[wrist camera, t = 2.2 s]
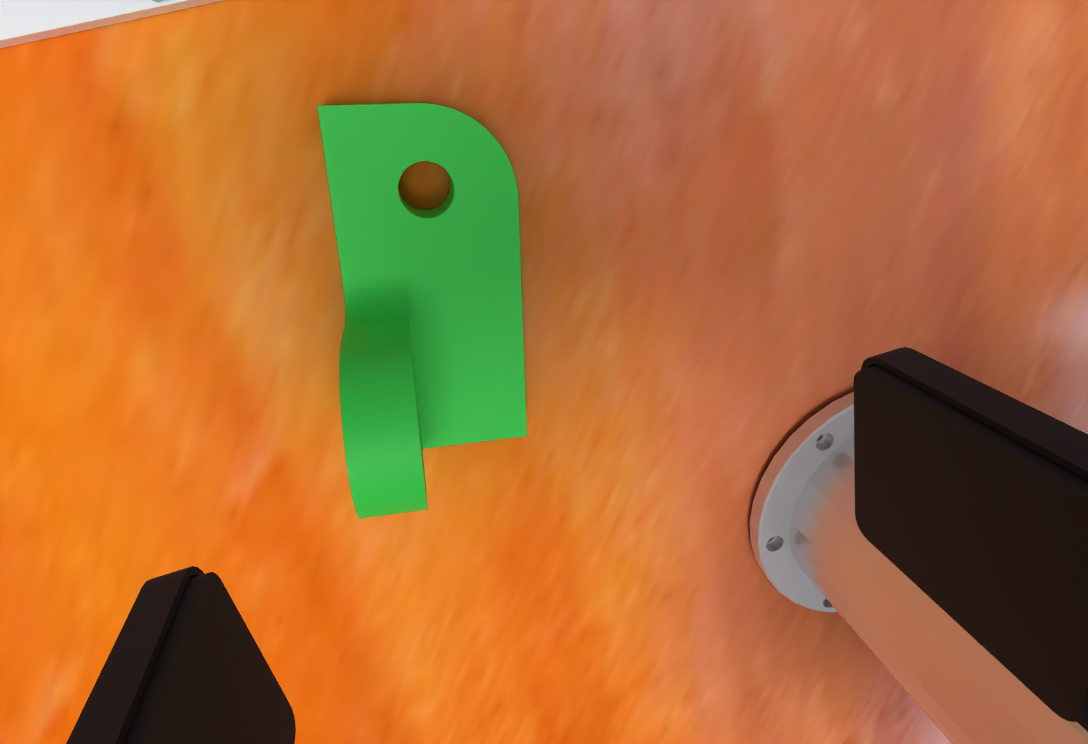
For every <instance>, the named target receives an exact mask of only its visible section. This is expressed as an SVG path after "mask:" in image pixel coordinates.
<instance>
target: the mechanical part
mask: <svg viewBox="0 0 1088 744" xmlns="http://www.w3.org/2000/svg"><path fill="white" fill-rule="evenodd" d="M317 107H318V114H319V120H320V127H321V134H322V141H323V148H324V155H325V162H326V169H327V176H328V183H329V190H330V197H331V204H332V211H333V218H334V225H335V232H336V239H337V246H338V253H339V260H340V267H341V273H342V280H343V288H344V298H345V315H346V319H345V327H344V332H343V337H342V343H341V348H340V363H339V378H340V402H341V416H342V428H343V438H344V447H345V455H346V463H347V470H348V477H349V482H350V488H351V493H352V498H353V502H354V506H355V509H356V512H357V515H358V517H359V518H360V519H362V518H369V517H377V516H384V515H391V514H398V513H406V512H413V511H420V510H427V509H428V506H427V495H426V484H425V473H424V462H423V451H422V449H423V448H431V447H439V446H448V445H456V444H464V443H472V442H481V441H489V440H497V439H505V438H514V437H522V436H527V425H526V397H525V369H524V341H523V313H522V285H521V257H520V229H519V201H518V188H517V183H516V178H515V175H514V171H513V168H512V166H511V163H510V161H509V159H508V157H507V155H506V153H505V151H504V150H503V148H502V147H501V145H500V144H499V142H498V141H497V140H496V139H495V138H494V136H493V135H492V134H491V133H490V132H489V131H488V130H487V129H486V128H485V127H483V126H482V125H481V124H480V123H478V122H477V121H476V120H474V119H472V118H471V117H469V116H468V115H466V114H464V113H462V112H460V111H457V110H454V109H452V108H449V107H445V106H441V105H437V104H430V103H385V104H346V105H320V106H317ZM420 161H430V162H434V163H437V164H439V165H440V166H442V167H443V168H444V169H445V170H446V171H447V173H448V175H449V179H450V189H449V193H448V195H447V197H446V199H445V200H444V201H443V202H442V203H441V204H440V205H439V206H437V207H435V208H432V209H428V210H422V209H417V208H414V207H412V206H411V205H409V204H408V203H407V202H406V201H405V200H404V199H403V198H402V196H401V194H400V192H399V189H398V183H399V179H400V177H401V175H402V173H403V172H404V171H405V169H406V168H407V167H409V166H410V165H412V164H414V163H416V162H420Z"/></svg>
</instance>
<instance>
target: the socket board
mask: <svg viewBox="0 0 1088 744" xmlns="http://www.w3.org/2000/svg"><path fill="white" fill-rule="evenodd" d="M219 1H223V0H0V48H4V47H9V46H14V45H18V44H23V43H28V42H32V41H37V40H42V39H46V38H51V37H56V36H60V35H65V34H70V33H74V32H79V31H84V30H88V29H93V28H98V27H102V26H107V25H111V24H116V23H121V22H125V21H130V20H135V19H139V18H144V17H149V16H153V15H158V14H163V13H167V12H172V11H177V10H181V9H186V8H191V7H195V6H200V5H205V4H209V3H214V2H219Z"/></svg>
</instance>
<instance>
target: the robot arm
mask: <svg viewBox="0 0 1088 744" xmlns="http://www.w3.org/2000/svg"><path fill="white" fill-rule="evenodd" d="M750 541H751V546H752V549H753V552H754V556H755V559H756V561H757V563H758V565H759V566H760V568H761V570H762V571H763V573H764V575H765V576H766V577H767V578H768V580H769V581H770V582H771V583H772V584H773V586H774V587H775V588H776V589H777V590H778V592H779V593H781V594H782V595H783V596H785V597H786V598H788V599H789V600H790V601H792V602H793V603H795V604H798V605H800V606H803V607H805V608H808V609H811V610H816V611H821V612H838V613H839V614H840V615H841V616H842V617H843V618H844V620H845V621H846V622H847V623H848V624H849V625H850V627H851V628H852V629H853V630H854V631H855V632H856V633H857V635H858V636H859V637H860V638H861V639H862V640H863V642H864V643H865V644H866V645H867V646H868V647H869V648H870V650H871V651H872V652H873V653H874V654H875V655H876V657H877V658H878V659H879V660H880V661H881V662H882V663H883V665H884V666H885V667H886V668H887V669H888V670H889V672H890V673H891V674H892V675H893V676H894V677H895V678H896V680H897V681H898V682H899V683H900V684H901V685H902V687H903V688H904V689H905V690H906V691H907V692H908V693H909V695H910V696H911V697H912V698H913V699H914V700H915V702H916V703H917V704H918V705H919V706H920V707H921V708H922V710H923V711H924V712H925V713H926V714H927V715H928V717H929V718H930V719H931V720H932V721H933V722H934V723H935V725H936V726H937V727H938V728H939V729H940V730H941V732H942V733H943V734H944V735H945V736H946V737H947V738H948V740H949V741H950V742H951V743H952V744H1088V434H1086V433H1084V432H1082V431H1080V430H1078V429H1076V428H1073V427H1071V426H1069V425H1067V424H1065V423H1063V422H1061V421H1059V420H1057V419H1055V418H1053V417H1051V416H1049V415H1047V414H1045V413H1043V412H1041V411H1039V410H1036V409H1034V408H1032V407H1030V406H1028V405H1026V404H1024V403H1022V402H1020V401H1018V400H1016V399H1014V398H1012V397H1010V396H1008V395H1006V394H1004V393H1002V392H999V391H997V390H995V389H993V388H991V387H989V386H987V385H985V384H983V383H981V382H979V381H977V380H975V379H973V378H971V377H969V376H967V375H965V374H962V373H960V372H958V371H956V370H954V369H952V368H950V367H948V366H946V365H944V364H942V363H940V362H938V361H936V360H934V359H932V358H930V357H928V356H925V355H923V354H921V353H919V352H917V351H915V350H913V349H910V348H907V347H904V348H899V349H895V350H892V351H889V352H886V353H882V354H879V355H876V356H873V357H870V358H867V359H866V360H865V361H864V362H863V364H862V367H861V370H860V371H858V372H857V373H856V375H855V377H854V392H852V393H850V394H848V395H846V396H844V397H842V398H840V399H838V400H836V401H834V402H832V403H830V404H829V405H827V406H826V407H824V408H823V409H822V410H820V411H819V412H817V413H816V414H814V415H813V416H812V417H810V418H809V419H808V420H807V421H806V422H805V423H804V424H803V425H802V426H800V427H799V428H798V429H797V430H796V431H795V432H794V433H793V434H792V435H791V436H790V437H789V438H788V440H787V441H786V442H785V443H784V445H783V446H782V447H781V448H780V450H779V451H778V452H777V453H776V455H775V456H774V457H773V459H772V461H771V463H770V464H769V466H768V468H767V470H766V471H765V473H764V475H763V477H762V478H761V481H760V484H759V486H758V489H757V492H756V495H755V497H754V500H753V505H752V511H751V517H750ZM295 731H296V729H295V719H294V714H293V711H292V708H291V706H290V704H289V702H288V700H287V698H286V696H285V695H284V693H283V691H282V689H281V687H280V686H279V684H278V682H277V680H276V678H275V677H274V675H273V673H272V671H271V669H270V668H269V666H268V664H267V662H266V660H265V659H264V657H263V655H262V653H261V651H260V649H259V648H258V646H257V644H256V642H255V640H254V639H253V637H252V635H251V633H250V631H249V630H248V628H247V626H246V624H245V622H244V621H243V619H242V617H241V615H240V613H239V611H238V610H237V608H236V606H235V604H234V602H233V601H232V599H231V597H230V595H229V593H228V592H227V590H226V588H225V586H224V584H223V583H222V581H221V579H220V578H219V576H218V575H217V574H215V573H213V572H210V573H206V574H204V573H203V571H202V570H200V569H199V568H198V567H194V566H192V567H189V568H185V569H182V570H179V571H176V572H172V573H169V574H166V575H163V576H159V577H156V578H153V579H150V580H148V581H146V582H145V584H144V585H143V587H142V588H141V590H140V592H139V595H138V597H137V599H136V601H135V603H134V605H133V607H132V609H131V611H130V613H129V615H128V617H127V619H126V621H125V623H124V626H123V628H122V630H121V632H120V634H119V636H118V638H117V640H116V642H115V644H114V646H113V648H112V650H111V652H110V655H109V657H108V659H107V661H106V663H105V665H104V667H103V669H102V671H101V673H100V675H99V677H98V679H97V681H96V683H95V686H94V688H93V690H92V692H91V694H90V696H89V698H88V700H87V702H86V704H85V706H84V708H83V710H82V712H81V714H80V717H79V719H78V721H77V723H76V725H75V727H74V729H73V731H72V733H71V735H70V737H69V739H68V741H67V743H66V744H294V742H295Z"/></svg>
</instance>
